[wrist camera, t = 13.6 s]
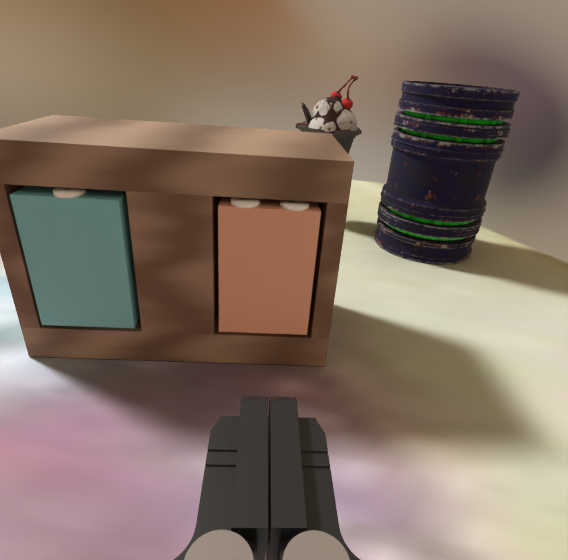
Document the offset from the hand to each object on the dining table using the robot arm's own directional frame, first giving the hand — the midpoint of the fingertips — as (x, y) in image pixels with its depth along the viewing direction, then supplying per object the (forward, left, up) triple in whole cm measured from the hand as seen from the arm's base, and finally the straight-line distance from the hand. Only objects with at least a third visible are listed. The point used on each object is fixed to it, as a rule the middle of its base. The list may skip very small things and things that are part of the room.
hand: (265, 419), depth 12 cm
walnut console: (-5, +15, -7) cm, 17 cm away
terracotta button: (0, +14, -5) cm, 14 cm away
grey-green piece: (-9, +14, -5) cm, 17 cm away
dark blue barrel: (+16, +31, -7) cm, 36 cm away
